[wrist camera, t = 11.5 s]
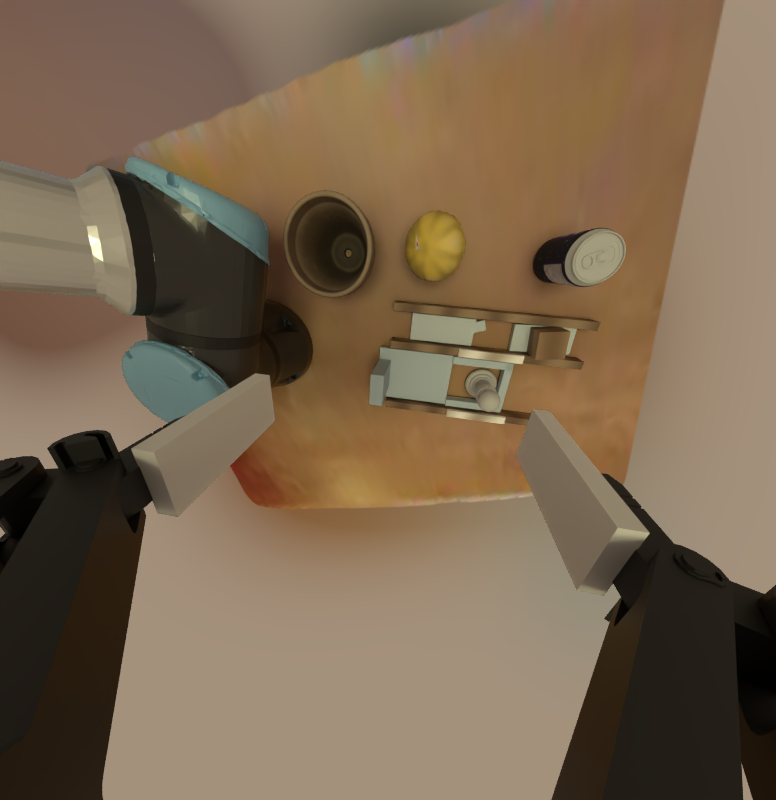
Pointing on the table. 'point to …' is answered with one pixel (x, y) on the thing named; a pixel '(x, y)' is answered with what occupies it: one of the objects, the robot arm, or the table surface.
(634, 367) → the table surface
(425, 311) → the lane rails
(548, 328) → the walnut cube
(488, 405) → the chess piece
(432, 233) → the hamburger
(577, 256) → the beverage can
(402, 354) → the pale grey slab
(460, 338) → the broken strip
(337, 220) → the flower pot
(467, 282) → the table surface
